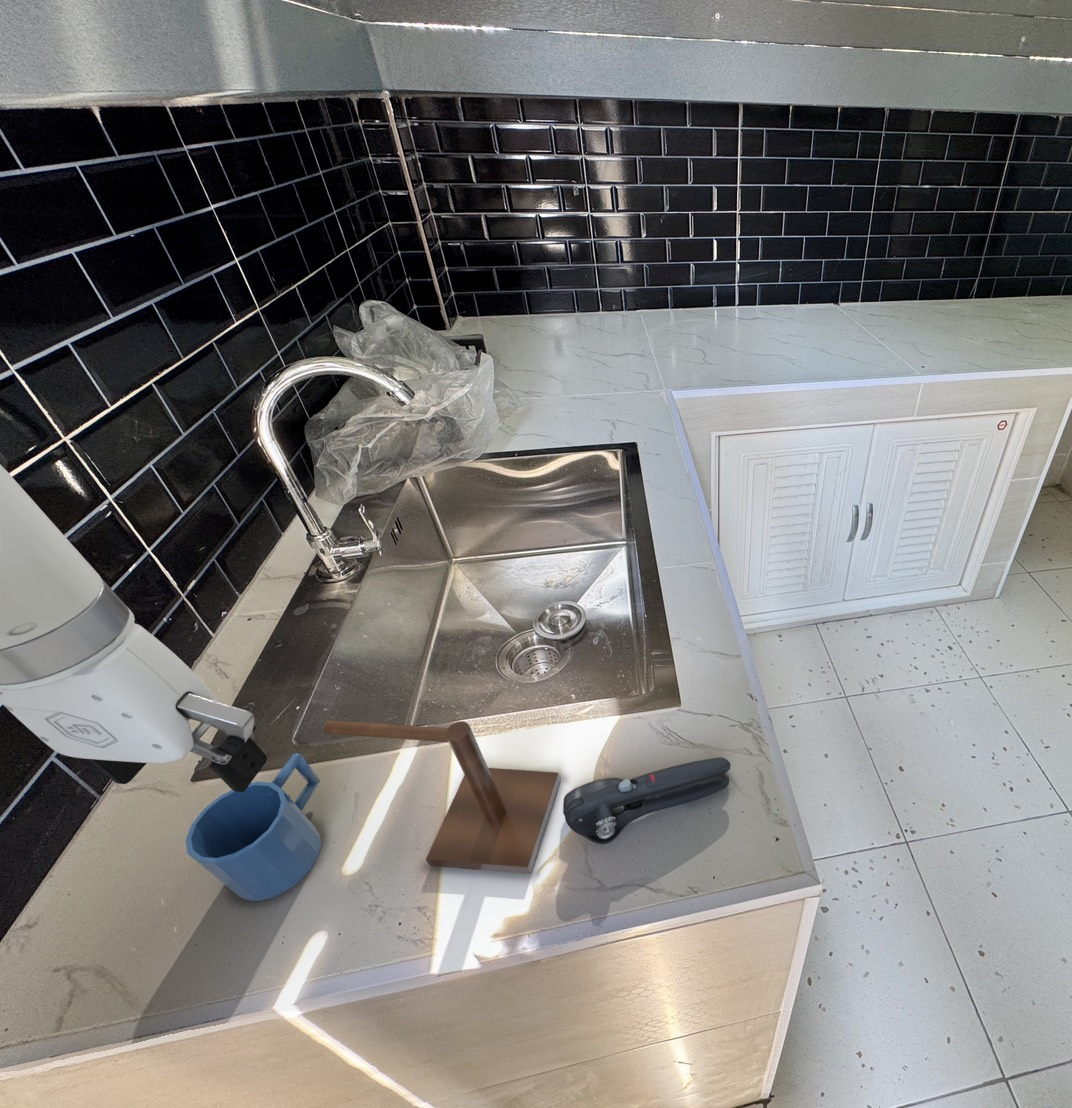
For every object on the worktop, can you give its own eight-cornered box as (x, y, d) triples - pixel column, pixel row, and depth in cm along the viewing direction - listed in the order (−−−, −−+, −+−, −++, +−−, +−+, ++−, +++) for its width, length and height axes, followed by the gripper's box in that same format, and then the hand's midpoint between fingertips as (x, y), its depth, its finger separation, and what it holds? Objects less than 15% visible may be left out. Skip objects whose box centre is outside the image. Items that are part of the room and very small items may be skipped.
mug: (290, 904, 56) (247, 865, 51) (213, 898, 56) (164, 858, 51) (358, 789, 65) (327, 747, 60) (291, 785, 65) (256, 742, 60)
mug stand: (530, 874, 58) (491, 787, 48) (360, 861, 59) (287, 773, 49) (560, 779, 66) (532, 688, 56) (410, 769, 67) (355, 677, 57)
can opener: (570, 863, 59) (561, 835, 56) (563, 799, 64) (554, 770, 61) (741, 809, 64) (742, 781, 60) (721, 754, 69) (721, 725, 65)
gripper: (-149, 666, 36) (53, 808, 47) (127, 684, 36) (266, 823, 47) (-21, 582, 42) (133, 726, 53) (218, 596, 41) (324, 738, 52)
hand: (195, 771), depth 50 cm, fingers open, 9 cm apart
